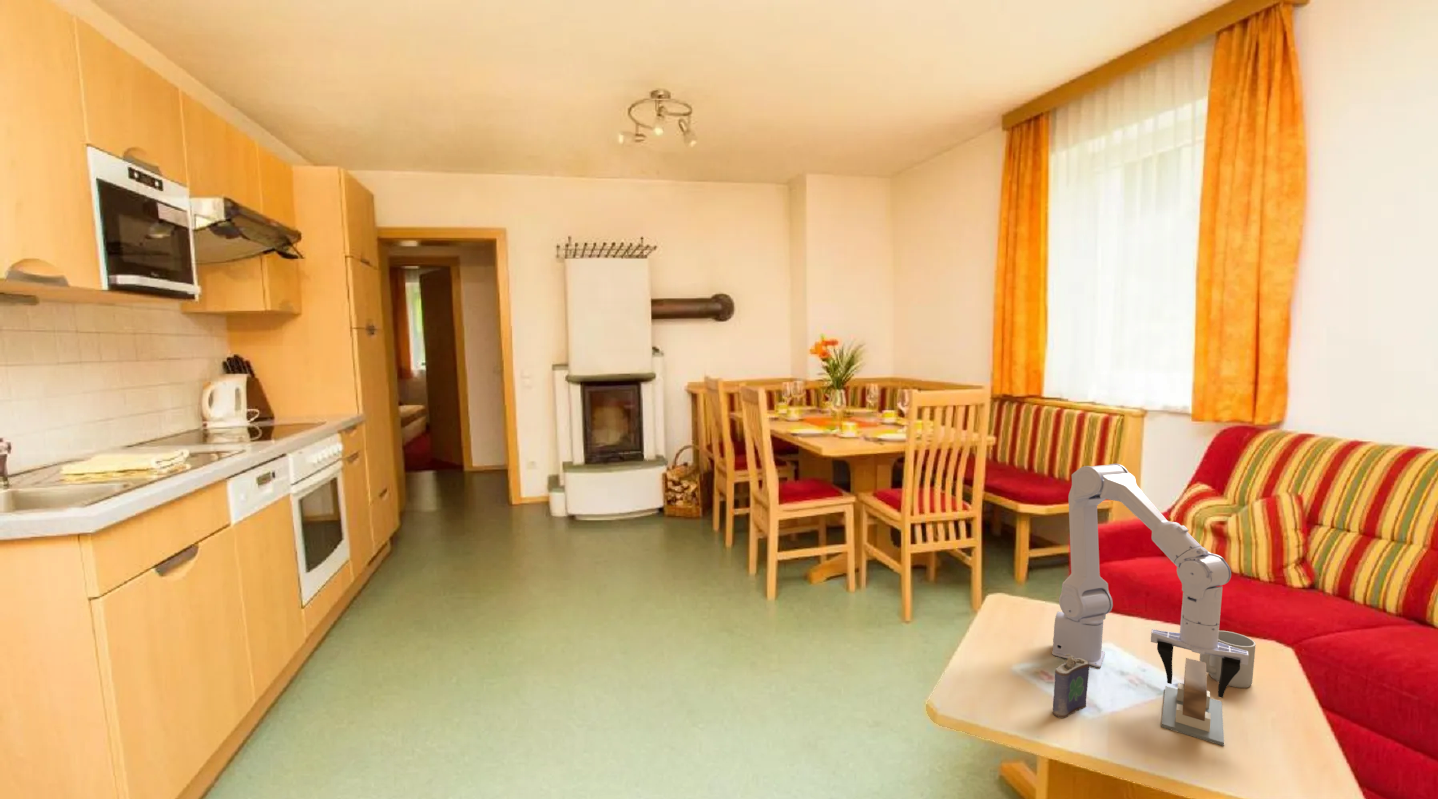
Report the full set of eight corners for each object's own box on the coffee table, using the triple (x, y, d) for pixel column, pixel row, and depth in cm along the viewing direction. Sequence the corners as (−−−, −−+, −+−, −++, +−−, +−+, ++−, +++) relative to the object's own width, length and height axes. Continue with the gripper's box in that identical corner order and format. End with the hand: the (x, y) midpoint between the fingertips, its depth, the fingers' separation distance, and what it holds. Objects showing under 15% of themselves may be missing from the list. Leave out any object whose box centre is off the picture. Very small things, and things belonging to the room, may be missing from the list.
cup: (1261, 688, 129) (1265, 647, 128) (1212, 688, 129) (1215, 646, 128) (1233, 670, 136) (1236, 630, 135) (1186, 670, 136) (1189, 630, 136)
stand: (1161, 726, 116) (1162, 711, 116) (1165, 688, 129) (1166, 674, 129) (1223, 746, 111) (1225, 729, 111) (1221, 704, 124) (1222, 689, 123)
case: (1182, 714, 115) (1184, 688, 115) (1184, 681, 126) (1185, 657, 126) (1204, 721, 113) (1206, 694, 113) (1204, 687, 124) (1206, 662, 124)
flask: (1062, 720, 118) (1065, 665, 117) (1047, 712, 121) (1050, 658, 120) (1089, 705, 123) (1093, 653, 122) (1074, 698, 125) (1077, 646, 125)
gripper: (1151, 616, 119) (1146, 684, 121) (1252, 638, 111) (1245, 711, 112) (1154, 603, 125) (1149, 669, 126) (1249, 623, 116) (1243, 694, 117)
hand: (1194, 688), depth 119 cm, fingers open, 7 cm apart
